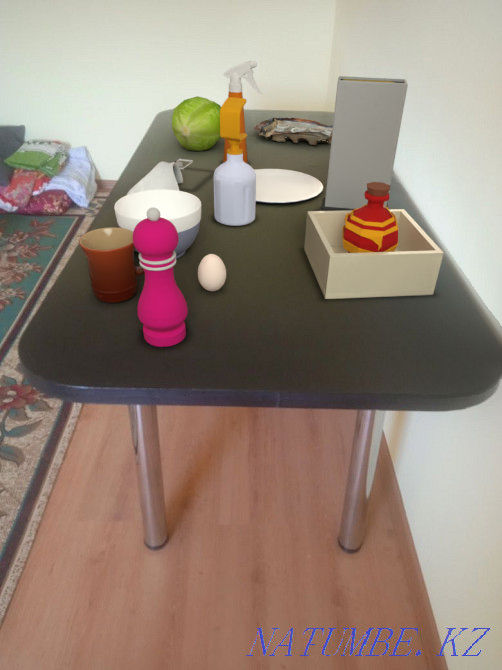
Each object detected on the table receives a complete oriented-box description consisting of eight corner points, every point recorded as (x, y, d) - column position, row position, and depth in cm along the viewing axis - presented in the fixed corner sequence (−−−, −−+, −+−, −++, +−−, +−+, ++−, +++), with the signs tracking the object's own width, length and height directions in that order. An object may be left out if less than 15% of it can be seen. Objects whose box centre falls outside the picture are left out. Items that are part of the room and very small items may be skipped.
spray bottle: (255, 169, 143) (258, 63, 128) (219, 165, 146) (217, 60, 131) (263, 162, 149) (266, 59, 134) (227, 158, 151) (227, 57, 136)
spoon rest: (173, 222, 112) (170, 190, 108) (121, 218, 114) (116, 187, 109) (196, 184, 131) (194, 155, 127) (151, 181, 133) (148, 153, 128)
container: (323, 217, 122) (311, 79, 106) (404, 211, 118) (405, 65, 101) (321, 230, 116) (308, 85, 100) (406, 224, 112) (408, 71, 95)
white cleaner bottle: (260, 214, 117) (264, 97, 103) (246, 229, 110) (248, 105, 96) (224, 208, 119) (222, 93, 105) (208, 223, 112) (204, 101, 98)
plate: (210, 178, 136) (210, 174, 136) (294, 168, 145) (295, 164, 144) (247, 212, 118) (247, 207, 117) (341, 198, 126) (342, 193, 125)
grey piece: (245, 142, 165) (246, 125, 162) (262, 127, 182) (262, 110, 179) (339, 151, 159) (341, 133, 156) (347, 134, 176) (349, 117, 173)
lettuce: (215, 157, 148) (165, 159, 153) (238, 138, 166) (193, 140, 171) (207, 103, 140) (155, 107, 145) (232, 88, 158) (185, 92, 163)
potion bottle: (401, 262, 96) (417, 183, 88) (382, 285, 89) (397, 201, 81) (349, 248, 101) (360, 172, 92) (327, 269, 94) (336, 188, 85)
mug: (92, 312, 82) (81, 254, 77) (86, 286, 89) (76, 230, 83) (166, 299, 86) (161, 243, 80) (155, 275, 93) (150, 222, 87)
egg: (232, 290, 89) (232, 255, 85) (210, 300, 86) (209, 264, 82) (214, 280, 92) (213, 245, 88) (192, 289, 89) (190, 254, 85)
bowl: (120, 273, 93) (113, 223, 88) (120, 236, 106) (114, 191, 100) (208, 266, 96) (206, 217, 90) (198, 231, 108) (196, 187, 103)
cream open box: (433, 294, 89) (443, 252, 84) (325, 299, 87) (330, 256, 82) (396, 246, 104) (403, 209, 100) (304, 249, 102) (307, 211, 98)
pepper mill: (136, 326, 79) (119, 201, 68) (182, 318, 81) (173, 195, 70) (145, 353, 74) (129, 222, 62) (194, 343, 76) (187, 214, 64)
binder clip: (183, 183, 133) (182, 161, 130) (169, 181, 134) (168, 160, 131) (193, 175, 138) (192, 154, 135) (179, 174, 139) (178, 153, 136)
